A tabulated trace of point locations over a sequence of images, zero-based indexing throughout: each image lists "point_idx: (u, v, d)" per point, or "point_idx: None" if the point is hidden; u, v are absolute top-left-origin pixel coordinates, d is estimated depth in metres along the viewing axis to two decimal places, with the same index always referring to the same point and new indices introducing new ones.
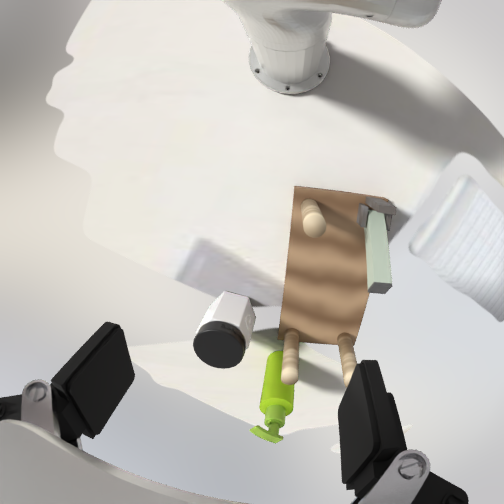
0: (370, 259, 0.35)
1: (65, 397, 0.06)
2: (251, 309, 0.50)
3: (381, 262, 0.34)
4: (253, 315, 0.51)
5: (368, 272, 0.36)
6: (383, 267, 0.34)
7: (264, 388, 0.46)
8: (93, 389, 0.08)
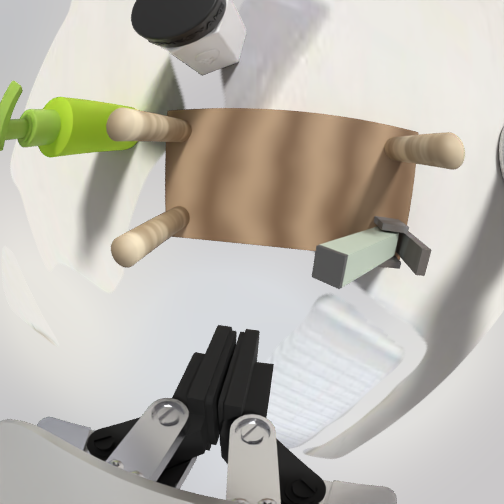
0: (361, 243, 0.22)
1: (200, 412, 0.07)
2: (219, 66, 0.26)
3: (362, 261, 0.21)
4: (208, 69, 0.26)
5: (340, 241, 0.22)
6: (358, 266, 0.21)
7: (86, 100, 0.21)
8: None
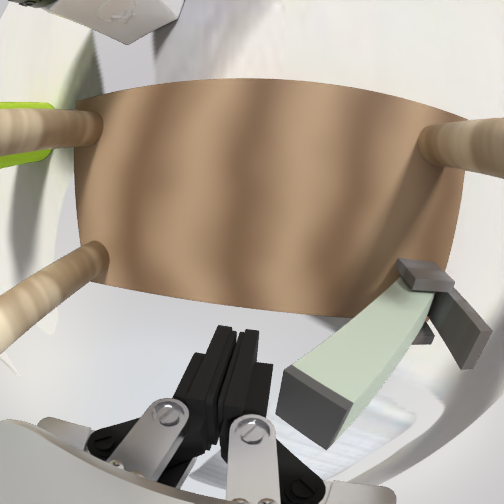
0: (382, 342, 0.10)
1: (201, 412, 0.07)
2: (147, 27, 0.14)
3: (381, 379, 0.10)
4: (132, 34, 0.14)
5: (340, 344, 0.10)
6: (370, 394, 0.09)
7: None
8: None
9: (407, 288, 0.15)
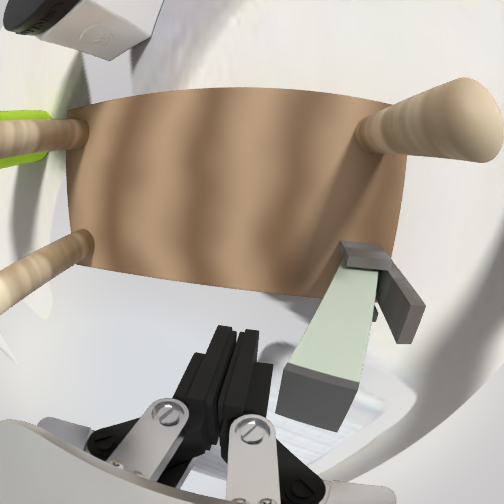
0: (355, 322, 0.11)
1: (201, 412, 0.07)
2: (125, 45, 0.17)
3: None
4: (113, 52, 0.17)
5: (320, 332, 0.11)
6: None
7: None
8: None
9: (353, 269, 0.17)
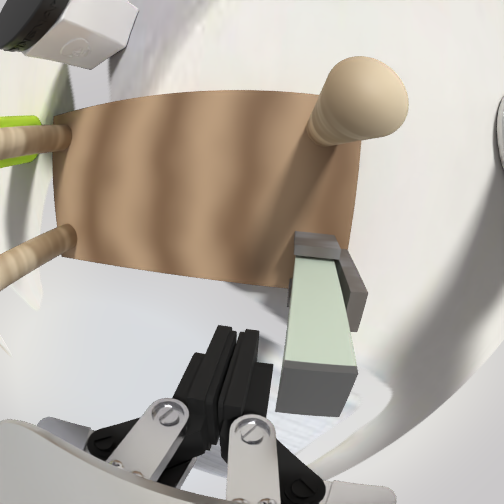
0: (331, 311, 0.12)
1: (201, 412, 0.07)
2: (103, 55, 0.18)
3: None
4: (92, 62, 0.18)
5: (302, 325, 0.11)
6: None
7: None
8: None
9: (310, 260, 0.18)
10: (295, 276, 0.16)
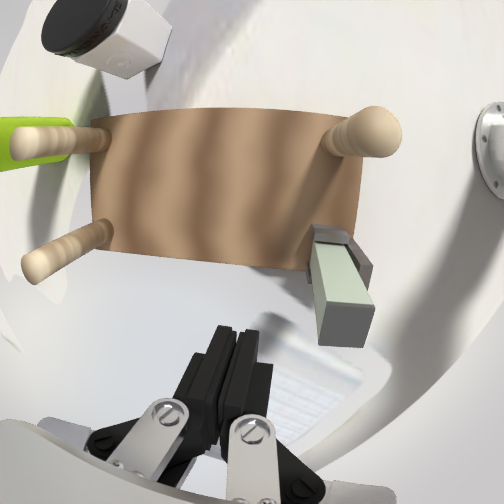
0: (349, 275, 0.17)
1: (201, 412, 0.07)
2: (140, 67, 0.23)
3: None
4: (130, 73, 0.23)
5: (332, 283, 0.16)
6: None
7: (11, 118, 0.17)
8: None
9: (326, 244, 0.23)
10: (318, 255, 0.20)
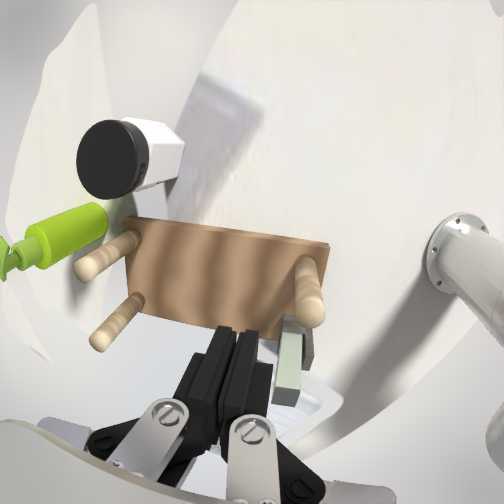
0: (295, 365, 0.29)
1: (201, 412, 0.07)
2: (161, 182, 0.34)
3: None
4: None
5: (282, 372, 0.28)
6: None
7: (58, 221, 0.29)
8: None
9: (290, 333, 0.35)
10: (281, 345, 0.33)
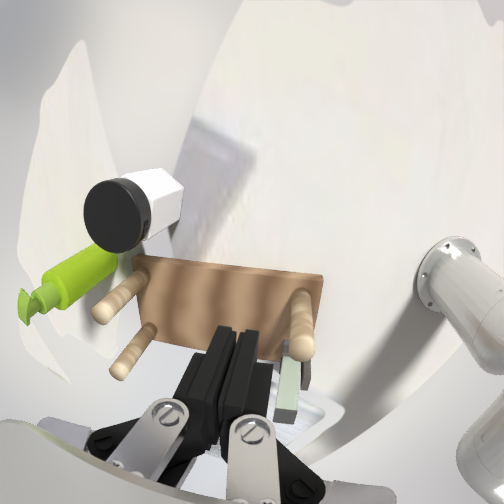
0: (293, 388, 0.32)
1: (201, 412, 0.07)
2: None
3: None
4: None
5: (282, 395, 0.31)
6: None
7: (71, 266, 0.33)
8: None
9: (289, 357, 0.38)
10: (281, 369, 0.35)
